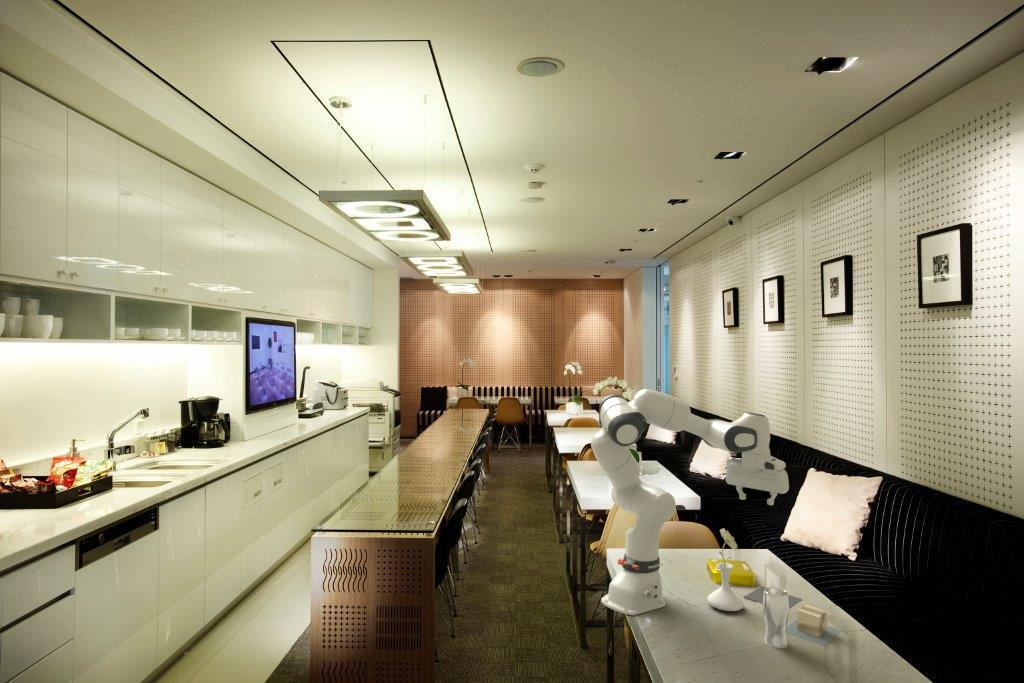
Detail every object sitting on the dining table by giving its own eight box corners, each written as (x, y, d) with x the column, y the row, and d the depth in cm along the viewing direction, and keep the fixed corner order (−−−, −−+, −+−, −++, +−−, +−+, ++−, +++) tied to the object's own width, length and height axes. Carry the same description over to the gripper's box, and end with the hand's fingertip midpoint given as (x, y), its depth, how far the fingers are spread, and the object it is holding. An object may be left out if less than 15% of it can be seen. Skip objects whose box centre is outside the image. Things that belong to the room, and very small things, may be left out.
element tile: (756, 587, 208) (756, 574, 208) (712, 584, 210) (713, 571, 210) (745, 572, 223) (746, 559, 223) (705, 569, 225) (705, 556, 225)
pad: (784, 611, 188) (784, 610, 188) (743, 597, 198) (743, 596, 198) (802, 599, 197) (802, 599, 197) (761, 587, 207) (761, 586, 207)
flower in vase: (746, 616, 184) (747, 538, 184) (709, 612, 186) (710, 535, 187) (739, 599, 197) (739, 526, 197) (704, 596, 199) (705, 523, 199)
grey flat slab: (824, 646, 166) (824, 645, 166) (781, 631, 175) (781, 630, 175) (841, 631, 175) (841, 630, 175) (800, 617, 184) (800, 616, 184)
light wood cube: (818, 637, 170) (818, 617, 171) (797, 629, 175) (797, 610, 175) (826, 631, 174) (826, 611, 175) (805, 623, 179) (805, 604, 179)
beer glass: (766, 635, 172) (766, 584, 172) (791, 642, 168) (791, 591, 168) (759, 644, 167) (759, 592, 167) (785, 652, 162) (785, 598, 162)
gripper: (722, 457, 199) (722, 497, 198) (782, 466, 184) (783, 509, 183) (730, 455, 203) (731, 494, 203) (790, 463, 188) (791, 506, 188)
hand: (756, 501), depth 193 cm, fingers open, 8 cm apart
